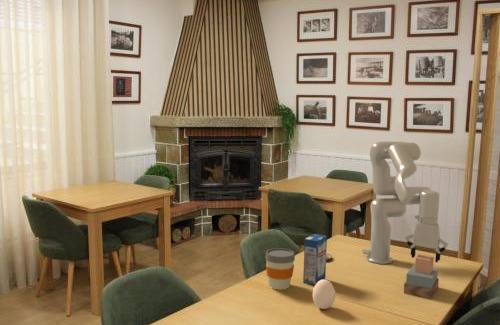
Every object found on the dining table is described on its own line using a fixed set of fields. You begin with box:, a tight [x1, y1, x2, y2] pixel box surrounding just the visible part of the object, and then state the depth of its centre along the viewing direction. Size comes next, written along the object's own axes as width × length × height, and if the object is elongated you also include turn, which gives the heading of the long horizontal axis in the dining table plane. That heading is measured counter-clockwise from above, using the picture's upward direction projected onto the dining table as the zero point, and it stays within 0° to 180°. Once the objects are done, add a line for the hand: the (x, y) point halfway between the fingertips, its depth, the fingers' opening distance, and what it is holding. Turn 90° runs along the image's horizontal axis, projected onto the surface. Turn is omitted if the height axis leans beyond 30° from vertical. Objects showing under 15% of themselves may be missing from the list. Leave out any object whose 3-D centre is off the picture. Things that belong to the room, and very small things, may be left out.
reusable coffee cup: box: [265, 247, 296, 290], centre depth 209 cm, size 12×13×15 cm
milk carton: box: [302, 233, 328, 286], centre depth 215 cm, size 10×6×20 cm, turn 148°
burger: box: [326, 252, 333, 263], centre depth 247 cm, size 12×12×8 cm
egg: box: [312, 278, 336, 310], centre depth 188 cm, size 9×9×11 cm
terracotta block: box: [415, 253, 435, 274], centre depth 207 cm, size 6×6×6 cm
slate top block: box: [405, 264, 439, 289], centre depth 207 cm, size 10×14×4 cm
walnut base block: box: [403, 277, 440, 300], centre depth 208 cm, size 11×15×4 cm
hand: (424, 259), depth 207 cm, fingers open, 9 cm apart
